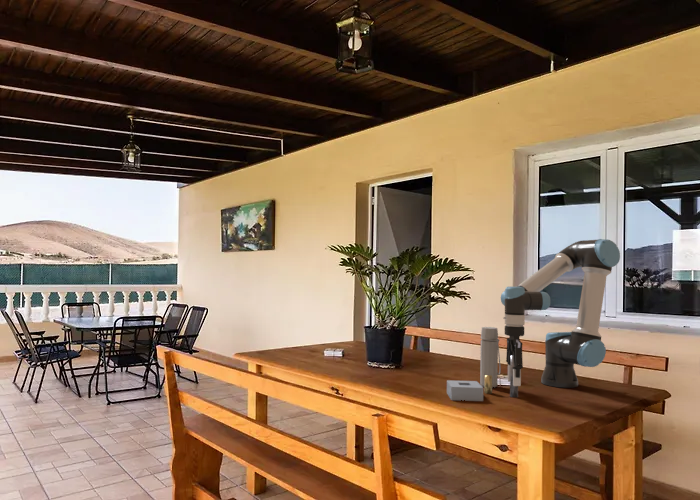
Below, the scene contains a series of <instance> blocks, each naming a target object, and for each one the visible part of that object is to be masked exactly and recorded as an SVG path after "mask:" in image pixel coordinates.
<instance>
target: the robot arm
mask: <svg viewBox="0 0 700 500" xmlns="http://www.w3.org/2000/svg"><path fill="white" fill-rule="evenodd" d="M620 259H621V253H620V248H619V247H618V245H617V244H616V242H614V241H613V240H610V239H602V238H599V239H589V240H588V239H587V240H578V241H575V242H573V243H571V244H569V245H568V246H566V247H565V248H563V249H562V250H560V251H559V252H558V253H556V254H555V256H554V258H553V259H552V260H550V262H548V263H547V264H545V265H544V266H542V267H541V268H540V269H538V270H537V271H535V273H533V274H532V275H530V276H529V277H527V278H526V279H525V280H523V281H522V282H521V283H519V284H518V285H517V286H506V287H505V290H504V291H502V293H501V295H500V301H501V302H500V303H501V304H502V305H503V306H504V316H503V317H502V318H503V320H504V324H505V326H504V335H506V336H507V338H506V360H505V361H506V364H507V382H510V355H513V361H514V367H513V368H512V369H513V386H518V387H521V384H522V382H521V381H522V369H523V367H524V365H523V364H524V362H523V345H524V344H523V341H521V340H520V339H521V338H520V337H523V336H525V324H526V323H525V322H526V321H525V311H544V310H545V311H546V310H548V309H549V307H550V306H551V297H550V295H549V294H548V292H545V291H542V290H544V289H545V288H546V287H547V286H549V285H550V284H552V283H553V282H554V281H556V280H557V279H558V278H559V277H561V276H562V275H564V274H565V273H567V272H568V273H569V272H572V271H573V270H575V269H577V268H581V270H582V272H583V273H584V275H583V281H582V288H581V293H580V294H581V295H580V301H579V307H578V313H577V314H578V315H577V320H576V326H575V328H574V329H572V330H571V331H561V332H559V331H558V332H557V331H555V332H547V333H546V335H545V341H544V342H545V343H544V345H545V348H544V350H545V366H544V368H543V372H542V375H541V380H540V381H541V382H540V383H542V384H543V385H545V386H549V387H556V388H577V387H579V379H578V377H577V373H576V371H575V365H578V366H581V367H584V368H585V367H586V368H595V367H597V366H599V364H600V365H601V364H602V362H603V361H604V360H605V357H606V353H607V348H606V345H605V343H604V342H603V341H602V335H601V334H600V333H599V329H600V320H601V317H602V316H601V315H602V310H603V309H602V308H603V302H604V295H605V288H606V284H607V283H606V282H607V276H609V275H610V274H612V269H613V267H615V266H617V265H618V264H619V262H620Z"/></svg>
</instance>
